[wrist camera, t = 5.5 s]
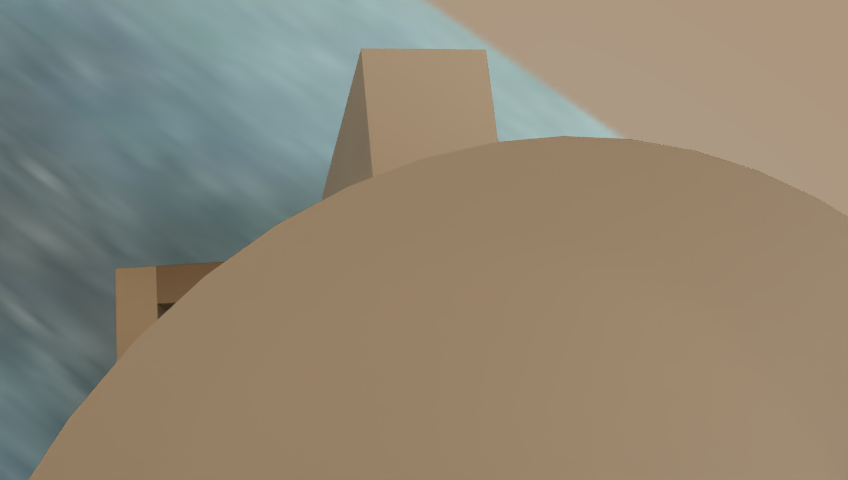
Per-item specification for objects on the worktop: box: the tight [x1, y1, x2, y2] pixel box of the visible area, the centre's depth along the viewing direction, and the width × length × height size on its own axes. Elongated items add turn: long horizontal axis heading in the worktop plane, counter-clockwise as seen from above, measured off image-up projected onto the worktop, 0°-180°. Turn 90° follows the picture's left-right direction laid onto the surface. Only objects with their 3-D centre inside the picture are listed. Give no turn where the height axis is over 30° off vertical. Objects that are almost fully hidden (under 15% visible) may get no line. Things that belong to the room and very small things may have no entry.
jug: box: [29, 49, 848, 480], centre depth 9 cm, size 8×6×12 cm
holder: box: [115, 262, 224, 361], centre depth 15 cm, size 9×9×2 cm
